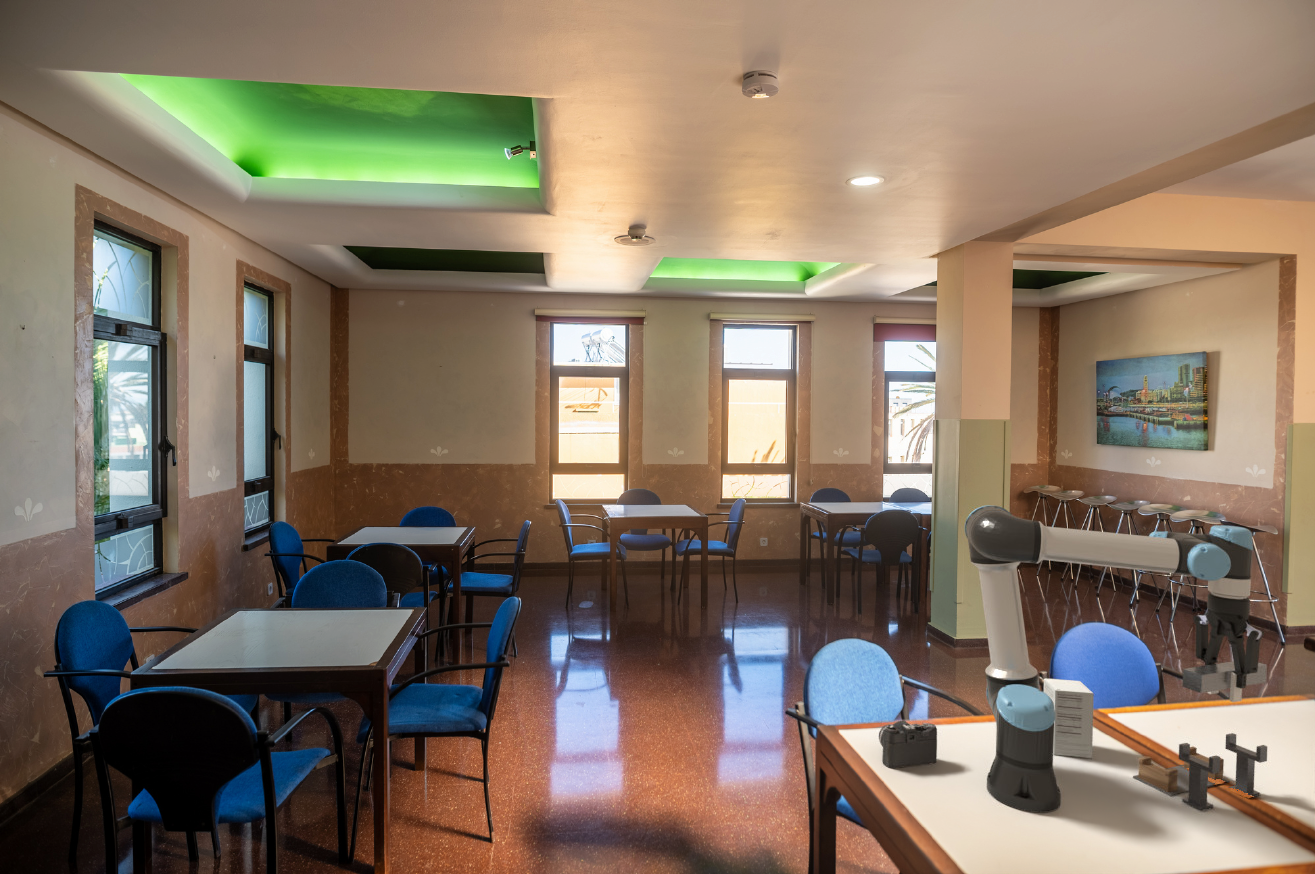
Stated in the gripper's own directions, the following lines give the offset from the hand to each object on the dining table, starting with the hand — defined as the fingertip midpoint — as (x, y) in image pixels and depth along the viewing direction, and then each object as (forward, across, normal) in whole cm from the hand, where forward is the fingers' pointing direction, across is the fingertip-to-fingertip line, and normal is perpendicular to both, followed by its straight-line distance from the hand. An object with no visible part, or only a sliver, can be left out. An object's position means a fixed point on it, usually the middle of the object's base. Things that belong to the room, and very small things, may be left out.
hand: (1224, 696), depth 163 cm
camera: (+24, +40, +56) cm, 73 cm away
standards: (+24, 0, 0) cm, 24 cm away
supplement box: (+24, +30, +12) cm, 40 cm away
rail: (-3, 0, 0) cm, 3 cm away
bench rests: (+24, +9, 0) cm, 25 cm away
